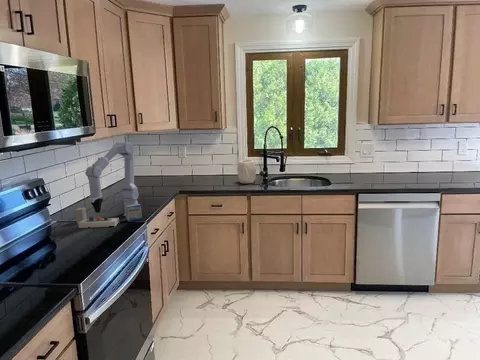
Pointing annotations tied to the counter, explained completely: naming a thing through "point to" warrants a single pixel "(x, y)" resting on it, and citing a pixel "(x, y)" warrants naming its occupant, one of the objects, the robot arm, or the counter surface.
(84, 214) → the grey cord holder
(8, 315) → the counter surface
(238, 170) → the white faceted vase
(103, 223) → the power strip
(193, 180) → the counter surface
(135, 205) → the medicine box
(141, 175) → the counter surface
